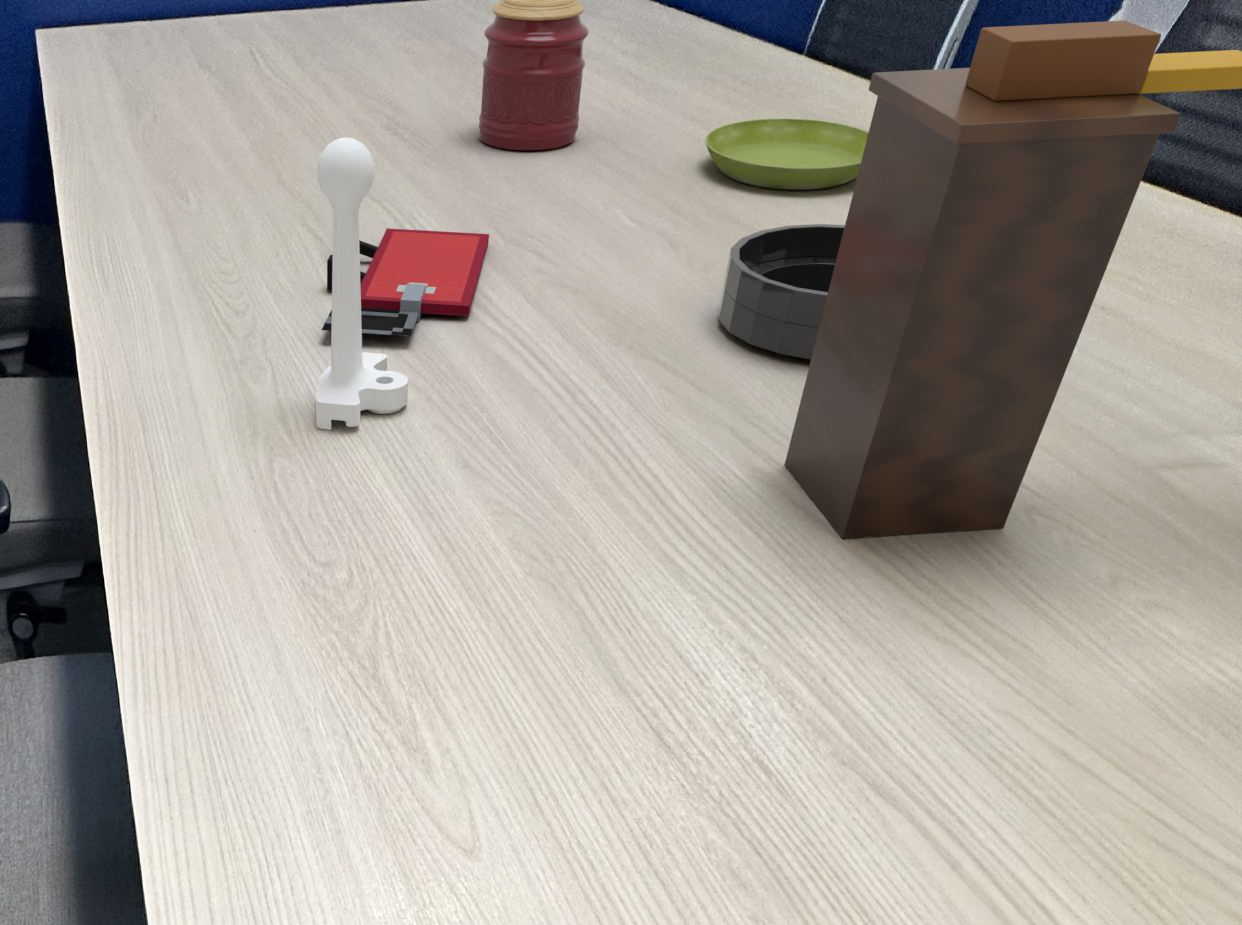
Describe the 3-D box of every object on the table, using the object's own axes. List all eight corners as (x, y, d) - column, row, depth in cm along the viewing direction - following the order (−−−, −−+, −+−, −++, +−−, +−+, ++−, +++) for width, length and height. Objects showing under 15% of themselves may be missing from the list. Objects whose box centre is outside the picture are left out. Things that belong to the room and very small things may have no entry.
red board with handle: (301, 339, 119) (460, 350, 117) (301, 307, 117) (462, 318, 115) (352, 240, 140) (488, 248, 138) (353, 212, 138) (490, 219, 136)
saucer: (687, 149, 161) (692, 119, 159) (851, 146, 160) (858, 116, 158) (717, 198, 147) (723, 167, 144) (897, 195, 146) (906, 164, 144)
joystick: (338, 375, 114) (335, 118, 99) (420, 382, 112) (429, 122, 98) (305, 427, 106) (296, 157, 92) (392, 435, 105) (397, 162, 90)
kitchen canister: (466, 130, 170) (475, -33, 158) (558, 122, 172) (574, -39, 159) (493, 156, 161) (505, -14, 149) (590, 148, 163) (610, -22, 150)
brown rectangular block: (1228, 72, 79) (1252, 13, 77) (1267, 87, 76) (1294, 27, 74) (964, 85, 78) (981, 27, 76) (994, 101, 75) (1012, 41, 73)
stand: (935, 452, 100) (1068, 62, 82) (1013, 531, 91) (1182, 113, 72) (775, 462, 100) (872, 72, 81) (838, 543, 90) (962, 124, 72)
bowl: (883, 285, 126) (902, 219, 122) (972, 361, 112) (996, 290, 108) (691, 296, 125) (703, 230, 121) (757, 374, 111) (773, 303, 107)
